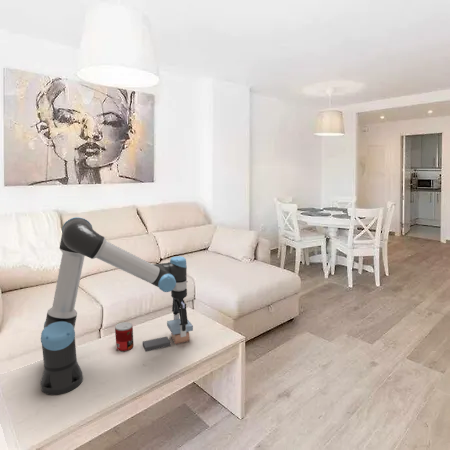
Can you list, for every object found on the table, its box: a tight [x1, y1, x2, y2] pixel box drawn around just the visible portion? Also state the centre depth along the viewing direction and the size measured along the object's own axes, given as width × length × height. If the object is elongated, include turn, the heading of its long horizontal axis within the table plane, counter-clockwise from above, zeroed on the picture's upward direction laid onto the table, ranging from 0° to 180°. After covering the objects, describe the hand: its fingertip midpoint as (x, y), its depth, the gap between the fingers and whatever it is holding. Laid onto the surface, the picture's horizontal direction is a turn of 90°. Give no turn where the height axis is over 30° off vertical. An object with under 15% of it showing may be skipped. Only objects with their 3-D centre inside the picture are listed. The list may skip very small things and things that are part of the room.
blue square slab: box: [166, 318, 194, 335], centre depth 170 cm, size 10×10×2 cm
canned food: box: [114, 321, 134, 352], centre depth 164 cm, size 8×8×11 cm
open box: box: [170, 331, 190, 345], centre depth 171 cm, size 7×7×4 cm
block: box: [142, 336, 172, 352], centre depth 166 cm, size 12×6×2 cm, turn 115°
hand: (179, 331), depth 171 cm, fingers closed on blue square slab, 10 cm apart
